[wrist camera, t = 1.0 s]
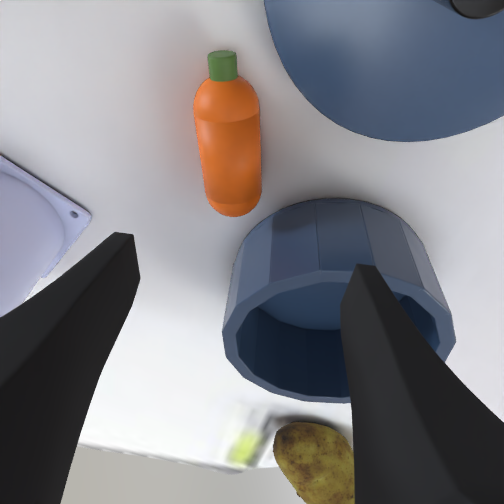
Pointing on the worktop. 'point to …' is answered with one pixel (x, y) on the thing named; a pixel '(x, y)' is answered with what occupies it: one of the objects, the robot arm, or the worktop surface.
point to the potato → (316, 462)
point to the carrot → (228, 137)
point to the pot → (321, 294)
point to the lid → (395, 63)
